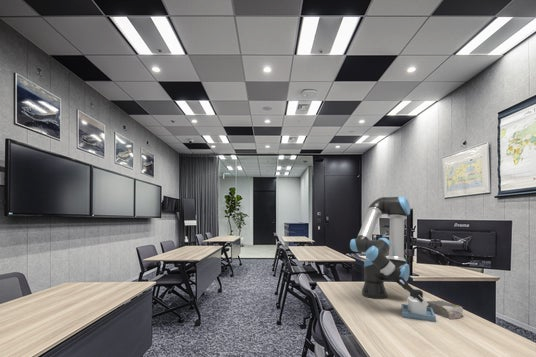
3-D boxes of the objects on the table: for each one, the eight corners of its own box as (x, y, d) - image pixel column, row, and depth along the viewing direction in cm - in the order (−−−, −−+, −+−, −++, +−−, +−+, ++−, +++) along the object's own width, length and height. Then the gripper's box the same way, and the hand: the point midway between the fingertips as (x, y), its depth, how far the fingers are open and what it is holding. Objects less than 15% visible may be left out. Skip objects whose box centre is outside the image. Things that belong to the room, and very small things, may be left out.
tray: (401, 308, 159) (401, 303, 159) (432, 312, 153) (432, 307, 153) (402, 317, 145) (401, 312, 146) (435, 322, 139) (435, 316, 140)
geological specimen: (439, 299, 161) (465, 306, 147) (440, 310, 160) (466, 318, 146) (425, 300, 158) (450, 307, 144) (426, 312, 157) (451, 320, 143)
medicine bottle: (427, 316, 145) (426, 291, 147) (412, 315, 147) (411, 291, 148) (422, 311, 152) (420, 288, 154) (407, 310, 154) (406, 287, 155)
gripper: (380, 271, 166) (408, 299, 162) (391, 281, 142) (425, 315, 138) (389, 262, 166) (418, 290, 162) (402, 270, 142) (436, 304, 137)
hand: (421, 301), depth 150 cm, fingers open, 13 cm apart
